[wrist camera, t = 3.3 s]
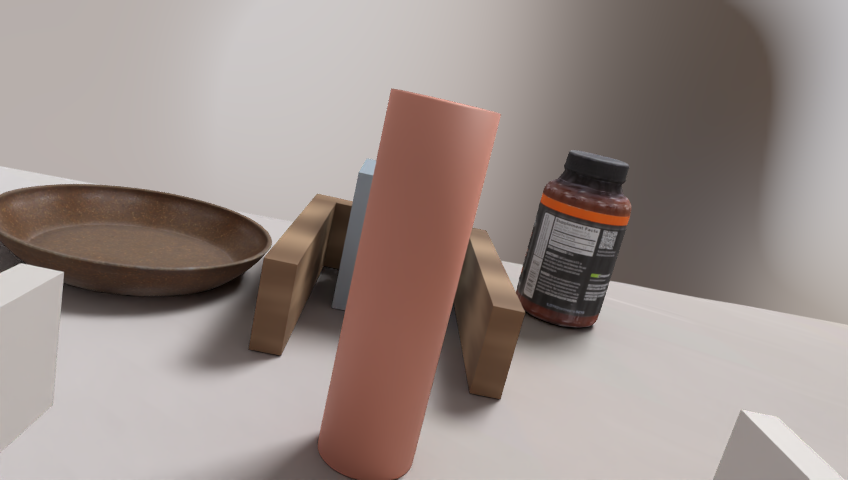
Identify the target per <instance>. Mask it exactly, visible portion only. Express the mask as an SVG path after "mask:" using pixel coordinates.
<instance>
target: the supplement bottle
mask: <svg viewBox="0 0 848 480" xmlns="http://www.w3.org/2000/svg"><path fill="white" fill-rule="evenodd" d="M564 167H565V171H564V172H563V174H562V175H561V176H560V177H559V178H558V179H556V180H552V181H550V182H549V183H548V184H546V186H545V188H544V191H543V195H542V198H541V201H540V204H539V209H538V212H537V216H536V220H535V223H534V227H533V231H532V235H531V238H530V242H529V245H528V250H527V254H526V256H525V260H524V264H523V268H522V271H521V275H520V277H519V282H518V286H517V291H516V294H517V296H518V298H519V300H520V302H521V305H522V307H523V309H524V310H525V311H526V312H528V313H529V314H530V315H532V316H534V317H536V318H538V319H541V320H543V321H546V322H549V323H552V324H555V325H558V326H564V327H576V328H580V327H588V326H591V325H593V324H594V323H595V322H596V320H597V318H598V315H599V313H600V310H601V307H602V304H603V301H604V297H605V295H606V291H607V288H608V285H609V282H610V278H611V275H612V272H613V268H614V265H615V262H616V259H617V256H618V253H619V250H620V246H621V243H622V240H623V237H624V234H625V231H626V227H627V224H628V220H629V217H630V213H631V204H630V201H629V200H628V199H627V198H626V197H625V196H624V195H623V191H622V186H621V185H622V184H623V183H624V182H625V181H626V175H627V172H628V169H629V165H628V164H627V163H625V162H622V161H619V160H616V159H612V158H608V157H604V156H600V155H596V154H592V153H587V152H582V151H575V150H572V151H570V152H569V154H568V157H567V161H566V163H565V165H564Z"/></svg>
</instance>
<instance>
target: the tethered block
mask: <svg viewBox="0 0 848 480" xmlns="http://www.w3.org/2000/svg"><path fill="white" fill-rule="evenodd" d="M500 116H501V114H499V113H496V112H492V111H488V110H484V109H481V108H477V107H473V106H469V105H465V104H460V103H456V102H452V101H448V100H443V99H439V98H435V97H430V96H426V95H421V94H417V93H413V92H408V91H403V90H397V89H391V93H390V98H389V103H388V107H387V112H386V117H385V121H384V127H383V131H382V136H381V141H380V146H379V150H378V156H377V160H371V159H366V161H365V163H364V164H363V166H362V168H361V170H360V171H359V174H358V179H357V184H356V189H355V194H354V199H353V204H352V209H351V214H350V219H349V224H348V229H347V234H346V239H345V244H344V249H343V253H342V258H341V263H340V268H339V273H338V278H337V283H336V288H335V293H334V298H333V303H332V308H336V309H341V310H345V314H344V319H343V324H342V328H341V333H340V338H339V343H338V348H337V353H336V357H335V362H334V367H333V372H332V377H331V381H330V386H329V391H328V396H327V401H326V406H325V410H324V415H323V420H322V425H321V430H320V434H319V439H318V451H319V454H320V456H321V457H322V459H323V460H324V461H325V462H326V463H327V464H328V465H329V466H330V467H331V468H333V469H334V470H336V471H337V472H339V473H341V474H343V475H345V476H348V477H350V478H354V479H357V480H393V479H396V478H399V477H401V476H403V475H404V474H405V473H407V471H408V470H409V469H410V468H411V466H412V463H413V459H414V455H415V451H416V447H417V443H418V439H419V435H420V431H421V427H422V424H423V420H424V416H425V412H426V408H427V404H428V400H429V396H430V392H431V388H432V384H433V380H434V376H435V372H436V368H437V364H438V361H439V357H440V353H441V349H442V345H443V341H444V337H445V333H446V329H447V325H448V321H449V317H450V313H451V309H452V305H453V301H454V298H455V294H456V290H457V286H458V282H459V278H460V274H461V270H462V266H463V262H464V258H465V254H466V250H467V246H468V242H469V238H470V234H471V231H472V227H473V223H474V219H475V215H476V211H477V207H478V203H479V199H480V195H481V191H482V187H483V183H484V179H485V175H486V171H487V167H488V164H489V160H490V156H491V152H492V148H493V144H494V140H495V136H496V132H497V127H498V124H499V120H500Z"/></svg>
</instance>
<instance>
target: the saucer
mask: <svg viewBox="0 0 848 480" xmlns="http://www.w3.org/2000/svg"><path fill="white" fill-rule="evenodd" d="M0 241H1V242H2V243H3V244H4V245H5V246H6V247H7V248H8V249H9V250H10V251H11V252H12V253H14V254H15V255H16V256H17V257H19V258H20V259H21V260H22V261H24V262H25V263H26V264H28V265H32V266H37V267H42V268H47V269H52V270H57V271H62V272H64V279H63V283H65V284H68V285H72V286H75V287H79V288H83V289H88V290H93V291H98V292H104V293H111V294H119V295H131V296H175V295H184V294H192V293H198V292H203V291H207V290H210V289H213V288H216V287H218V286H221V285H223V284H225V283H227V282H229V281H231V280H233V279H234V278H236V277H238V276H239V275H241V274H242V273H244V272H245V271H247V270H248V269H250V268H251V267H252V266H253V265H254V264H256V263H257V262H258V261H259V260H260V259H261V258H262V257H263V256H264V255H265V253H266V252H267V251H268V250H269V249H270V248H271V245H272V240H271V237H270V235H269V233H268V232H267V231H266V230H265V229H264V228H263V227H262V226H261V225H259V224H258V223H256V222H255V221H253V220H252V219H250V218H248V217H246V216H243V215H241V214H239V213H237V212H235V211H232V210H229V209H227V208H224V207H221V206H217V205H214V204H211V203H207V202H204V201H200V200H196V199H193V198H189V197H184V196H180V195H175V194H170V193H165V192H158V191H152V190H145V189H138V188H129V187H121V186H108V185H94V184H58V185H45V186H35V187H28V188H21V189H16V190H12V191H8V192H5V193H3V194H1V195H0Z"/></svg>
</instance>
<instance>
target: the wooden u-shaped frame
mask: <svg viewBox="0 0 848 480" xmlns="http://www.w3.org/2000/svg"><path fill="white" fill-rule="evenodd" d="M352 204H353V202H352V201H348V200H344V199H339V198H335V197H330V196H325V195H321V194H317V195H316V196H315V197H314V198H313V199H312V201H311V202H310V203H309V204H308V205H307V207H306V208H305V209H304V210H303V212H302V213H301V214H300V215H299V216H298V217H297V219H296V220H295V221H294V222H293V223H292V225H291V226H290V227H289V228H288V229H287V231H286V232H285V233H284V234H283V235H282V237H281V238H280V239H279V240H278V241H277V243H276V244H275V245H274V246H273V247H272V249H271V250H270V251H269V252H268V253H267V255H266V256H265V257H264V260H263V266H262V272H261V278H260V284H259V290H258V296H257V302H256V308H255V314H254V320H253V326H252V332H251V338H250V343H249V349H250V350H255V351H260V352H265V353H270V354H275V355H280V356H281V354H282V352H283V350H284V348H285V346H286V344H287V342H288V340H289V338H290V335H291V333H292V331H293V329H294V327H295V325H296V323H297V321H298V319H299V317H300V315H301V312H302V310H303V308H304V306H305V304H306V302H307V300H308V298H309V296H310V294H311V292H312V290H313V287H314V285H315V283H316V281H317V279H318V277H319V275H320V273H321V271H322V269H323V267H324V266H327V267H332V268H336V269H339V268H340V263H341V258H342V253H343V249H344V244H345V239H346V234H347V229H348V224H349V219H350V214H351V209H352ZM453 302H454V307H455V313H456V319H457V324H458V330H459V336H460V341H461V347H462V352H463V358H464V364H465V369H466V375H467V381H468V386H469V392H470V393H471V394H476V395H481V396H486V397H491V398H496V399H501V395H502V392H503V388H504V385H505V381H506V378H507V375H508V371H509V368H510V364H511V361H512V357H513V354H514V350H515V347H516V343H517V340H518V336H519V333H520V329H521V326H522V322H523V319H524V315H525V311H524V309H523V307H522V305H521V302H520V300H519V298H518V296H517V294H516V292H515V290H514V288H513V286H512V283H511V281H510V279H509V277H508V275H507V273H506V271H505V269H504V267H503V265H502V262H501V260H500V258H499V256H498V254H497V252H496V250H495V248H494V246H493V243H492V241H491V239H490V237H489V235H488V233H487V231H486V230H481V229H476V228H472V231H471V234H470V238H469V242H468V246H467V250H466V254H465V258H464V262H463V266H462V270H461V274H460V278H459V282H458V286H457V290H456V294H455V298H454V301H453Z"/></svg>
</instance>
